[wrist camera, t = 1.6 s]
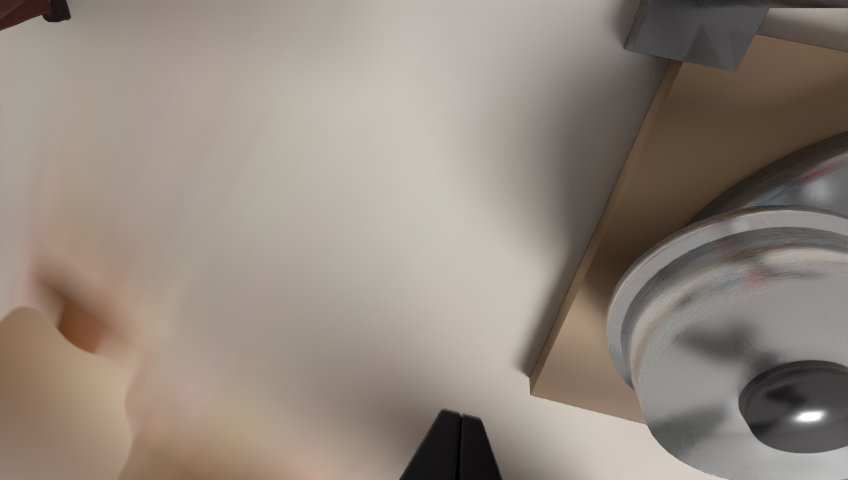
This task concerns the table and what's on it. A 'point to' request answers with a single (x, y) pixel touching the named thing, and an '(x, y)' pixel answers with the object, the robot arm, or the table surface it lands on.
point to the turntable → (793, 182)
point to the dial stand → (705, 27)
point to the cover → (742, 342)
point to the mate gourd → (32, 11)
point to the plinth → (686, 189)
